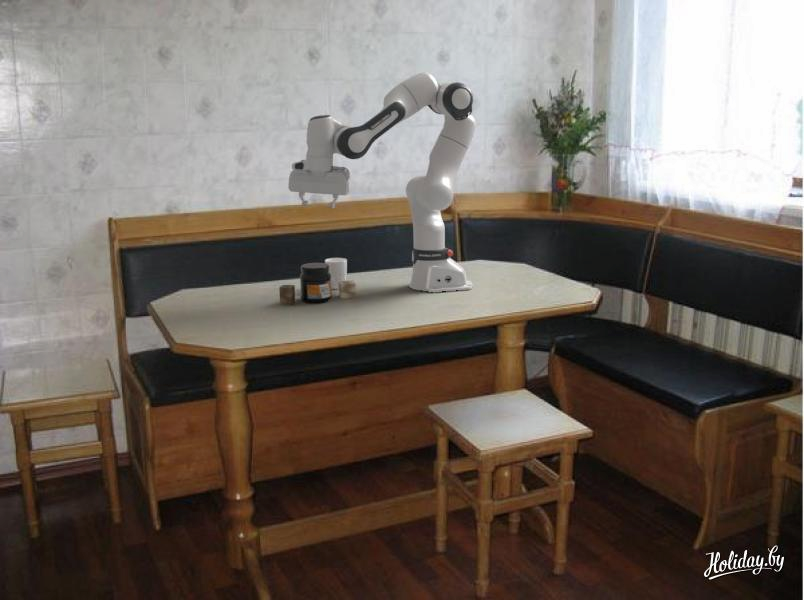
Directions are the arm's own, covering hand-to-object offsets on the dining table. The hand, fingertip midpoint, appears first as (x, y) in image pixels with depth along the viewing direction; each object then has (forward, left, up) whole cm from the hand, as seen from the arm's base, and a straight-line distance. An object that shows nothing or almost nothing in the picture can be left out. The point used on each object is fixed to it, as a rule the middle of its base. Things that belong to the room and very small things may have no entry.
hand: (318, 207), depth 285 cm
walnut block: (+11, +7, -31) cm, 34 cm away
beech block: (-9, 0, -31) cm, 32 cm away
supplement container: (+2, +4, -31) cm, 32 cm away
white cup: (-5, -14, -31) cm, 35 cm away
